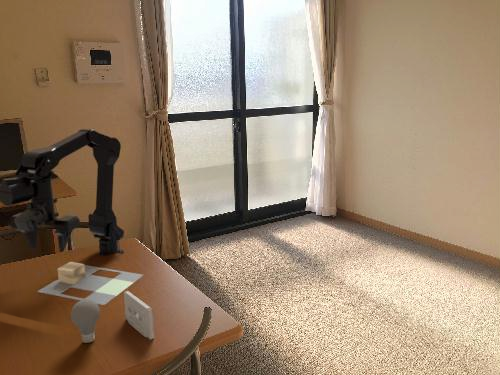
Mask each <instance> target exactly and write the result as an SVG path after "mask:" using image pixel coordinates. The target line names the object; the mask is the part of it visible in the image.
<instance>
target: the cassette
mask: <svg viewBox="0 0 500 375" xmlns="http://www.w3.org/2000/svg"><path fill="white" fill-rule="evenodd" d="M123 298H124V299H123V300H124V308H125V309H124V311H125V312H124V313H125V319H126V320H127V323H128V324H129V325H130V326H131V327H133V328H134V329H135V330H136V331H138V332H139V333H140V334H141V335H142V336H144V337H145V338H147V339H149V340H153V339H155V332H154V331H155V330H154V318H153V308H152V307H150V306H149V305H148V304H146V303H145V302H144V301H142V300H141V299H140V298H138V297H137V296H135V295H134V294H133V293H131V292H130V291H129V290H124V291H123Z"/></svg>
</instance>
